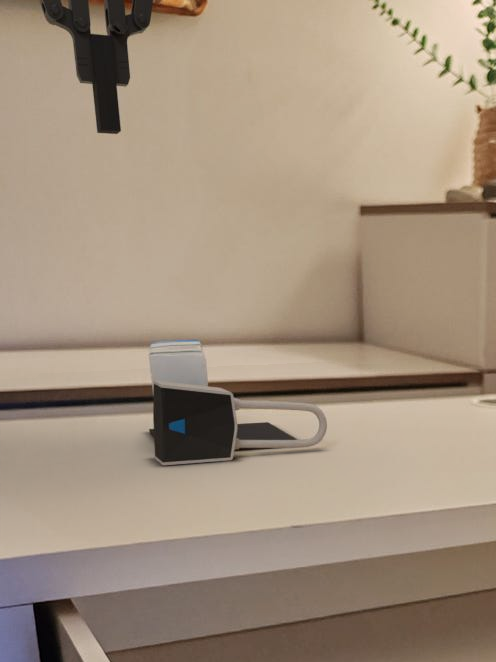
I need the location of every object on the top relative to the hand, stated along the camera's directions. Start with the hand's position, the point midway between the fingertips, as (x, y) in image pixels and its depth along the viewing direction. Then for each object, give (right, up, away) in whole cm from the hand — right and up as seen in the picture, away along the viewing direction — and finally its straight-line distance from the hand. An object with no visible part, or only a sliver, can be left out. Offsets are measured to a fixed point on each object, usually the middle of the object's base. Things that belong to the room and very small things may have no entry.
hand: (109, 131), depth 81 cm
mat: (+4, -21, +19) cm, 28 cm away
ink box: (0, -15, +21) cm, 26 cm away
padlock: (+2, -22, +6) cm, 23 cm away
